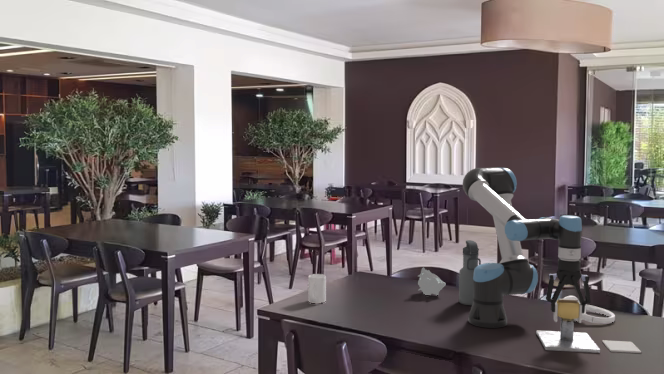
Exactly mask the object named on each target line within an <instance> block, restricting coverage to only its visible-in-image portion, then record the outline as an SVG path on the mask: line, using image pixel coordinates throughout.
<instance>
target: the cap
mask: <svg viewBox="0 0 664 374" xmlns="http://www.w3.org/2000/svg"><path fill="white" fill-rule="evenodd" d="M578 300H579V299H578ZM578 300H577V299H563V298H558V299H557V301H556V303H557V304H558V314H557V318H558V317H559V318H560V319H561V318H566V319H576V318H579V303H580V301H579V302H578Z"/></svg>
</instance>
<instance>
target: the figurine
mask: <svg viewBox="0 0 664 374" xmlns="http://www.w3.org/2000/svg"><path fill="white" fill-rule="evenodd" d="M417 277H419V278H418V281H417V286H419V289H418V290H417V291H421V292H422V293H423V295H424V294H425V295H430V296H431V295H432V294H433V295H435V296H437V295H438V296H439V293H440V291H441V290H443V288H444V287H446V282H444V281H443V280H442V279H441V278H440V277H439V276H438V275H436V274H435V273H432V272H431V271H430V270H429V269H428V270H427V269H426V268H425V267H421V270H420V274H418V275H417ZM425 295H424V296H425Z"/></svg>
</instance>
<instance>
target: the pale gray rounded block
mask: <svg viewBox="0 0 664 374" xmlns="http://www.w3.org/2000/svg"><path fill="white" fill-rule="evenodd" d="M307 278H308V280H307V281H308V282H307V286H308V287H307V290H308V291H307V293H308V297H307V299H308V301H309V302H312V303H321V302H325V301H326V302H327V276H326V275H325V274H323V273H312V274H309V275H308V277H307ZM308 301H307V302H308ZM309 302H308V303H309ZM326 302H325V303H326Z"/></svg>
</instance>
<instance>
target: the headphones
mask: <svg viewBox="0 0 664 374" xmlns="http://www.w3.org/2000/svg"><path fill="white" fill-rule="evenodd" d="M562 299H577V300H578V302H579V303H580V300H579V298H578V297H576V296H575V295H568V296H565V297H563V298H562ZM587 311H588V312H592V313H595V312H596V314H599V313H600V314H599V315H602V314H604V315H603V316H605V315H606V316H605V317H601V316H600V317H598V316H594V315H589V314H587ZM607 316H609V317H607ZM615 320H616V315H615V313H614V312H612V311H610V310H608V309H605V308H602V307H598V306H595V305H590V304H586V305H585V312H584V313H582V319H581V321H585V322H589V323H591V324H599V325H603V324H604V325H608V324H613V323H614V322H615ZM576 321H577V318H576V319H574V322H576ZM577 322H578V321H577ZM612 322H613V323H612Z"/></svg>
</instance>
